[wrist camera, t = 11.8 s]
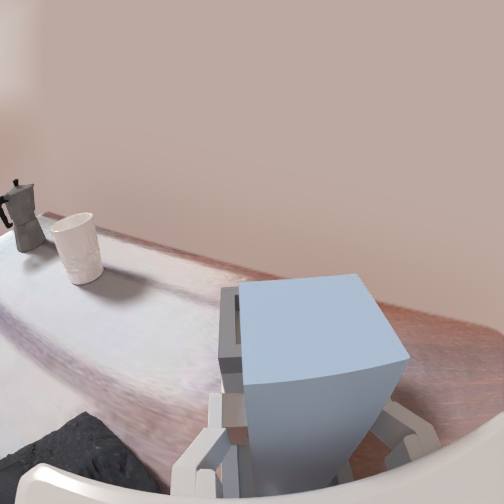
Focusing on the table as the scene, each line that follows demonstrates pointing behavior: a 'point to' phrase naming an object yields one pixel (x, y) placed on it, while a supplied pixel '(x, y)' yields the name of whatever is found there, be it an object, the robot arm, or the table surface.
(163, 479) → the table surface
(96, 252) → the white cup
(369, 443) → the table surface
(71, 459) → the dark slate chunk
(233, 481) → the stepped base with tray
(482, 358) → the table surface
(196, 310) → the table surface
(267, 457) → the plug
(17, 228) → the coffeepot
